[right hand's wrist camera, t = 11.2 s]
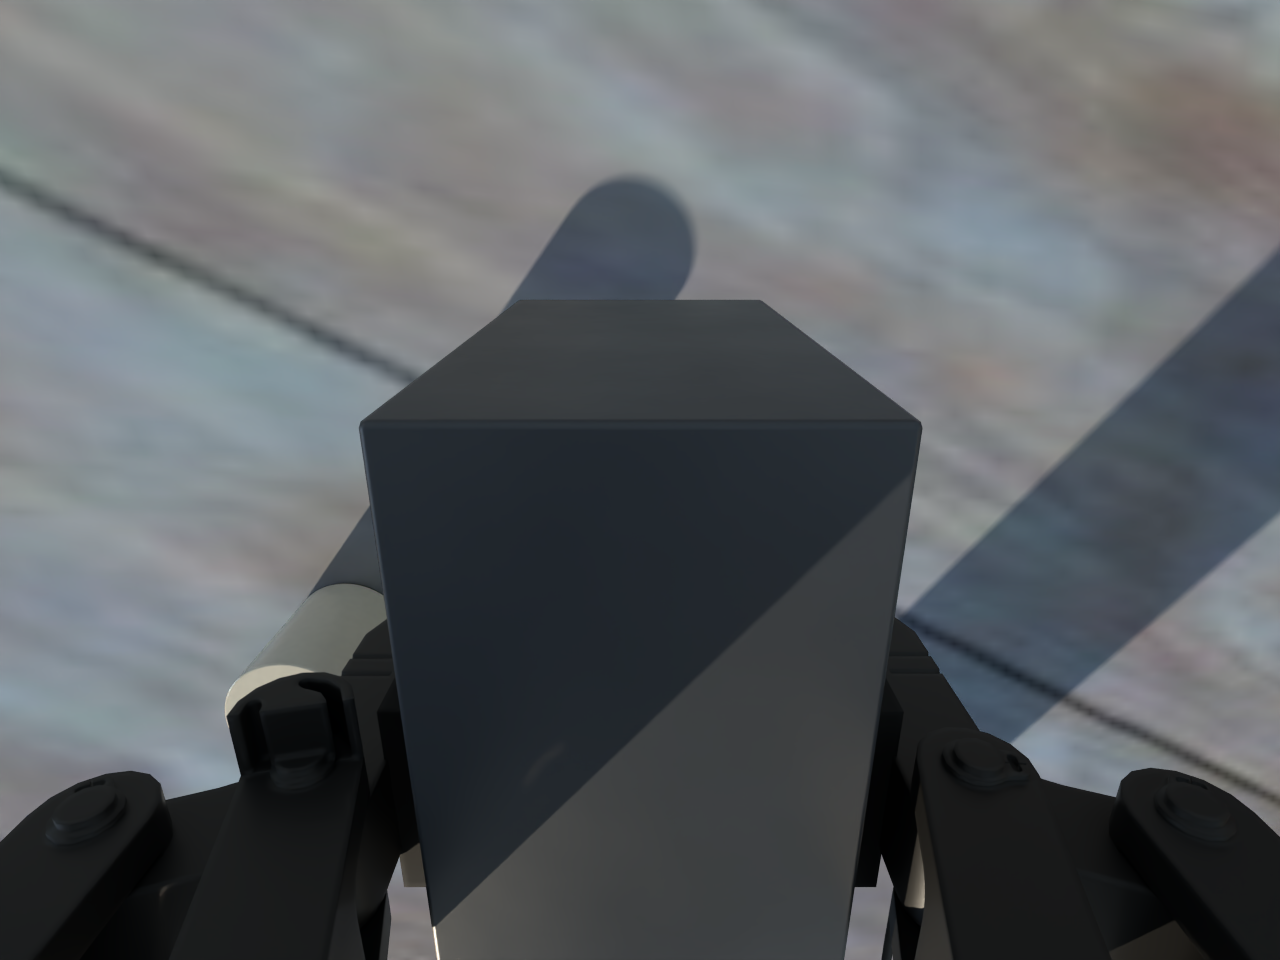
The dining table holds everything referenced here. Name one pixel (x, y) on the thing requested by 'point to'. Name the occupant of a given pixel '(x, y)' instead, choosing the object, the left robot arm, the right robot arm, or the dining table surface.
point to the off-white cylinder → (314, 638)
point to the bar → (640, 628)
